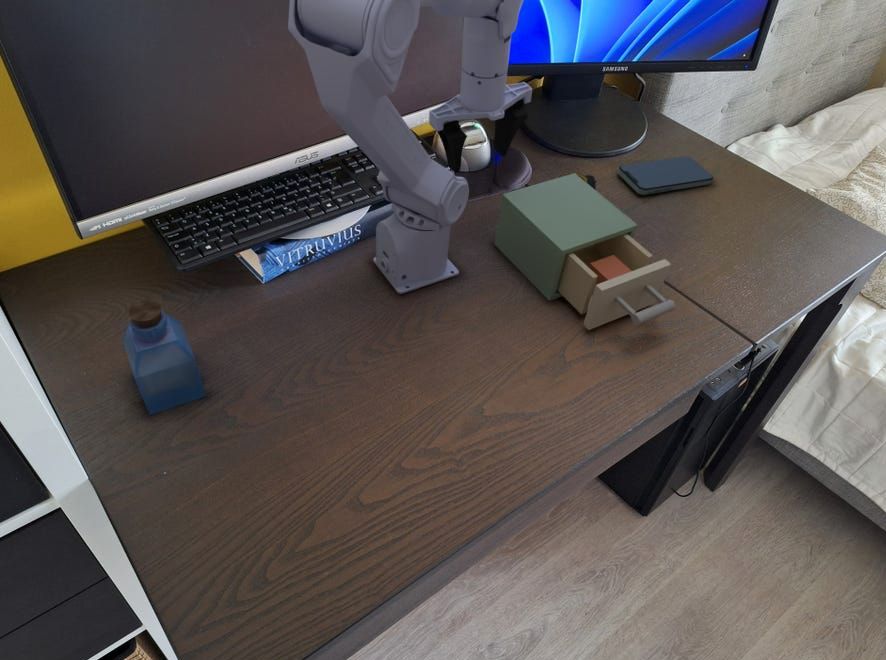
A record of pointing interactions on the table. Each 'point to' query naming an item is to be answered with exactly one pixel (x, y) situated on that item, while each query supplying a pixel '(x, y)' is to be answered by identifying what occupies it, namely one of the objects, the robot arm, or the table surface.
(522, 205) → the cabinet
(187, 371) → the perfume bottle
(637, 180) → the smartphone
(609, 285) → the drawer
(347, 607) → the table surface
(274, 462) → the table surface
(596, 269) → the block
